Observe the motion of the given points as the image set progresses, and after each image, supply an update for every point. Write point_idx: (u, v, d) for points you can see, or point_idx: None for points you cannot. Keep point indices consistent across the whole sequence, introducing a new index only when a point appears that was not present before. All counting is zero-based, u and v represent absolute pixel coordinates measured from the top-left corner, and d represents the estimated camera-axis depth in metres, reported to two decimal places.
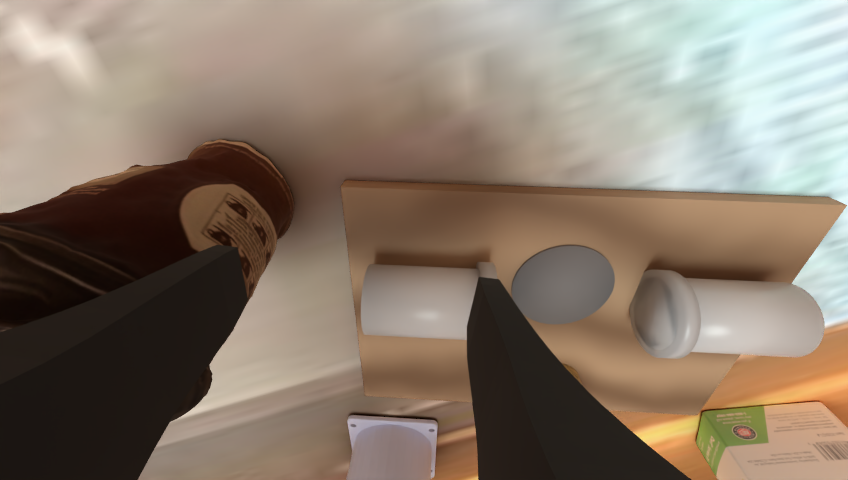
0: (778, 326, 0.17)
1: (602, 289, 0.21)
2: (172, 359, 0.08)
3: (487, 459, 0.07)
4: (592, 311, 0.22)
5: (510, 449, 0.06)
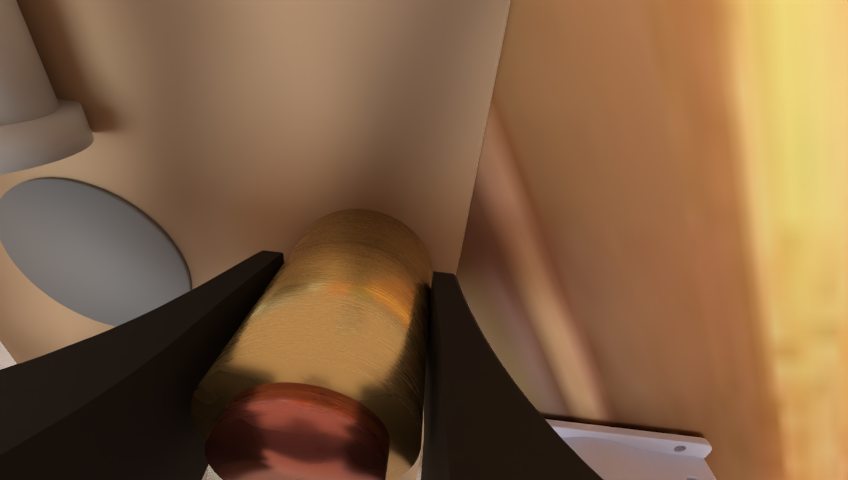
0: None
1: (65, 199, 0.10)
2: None
3: (426, 453, 0.07)
4: (127, 211, 0.11)
5: (435, 440, 0.06)
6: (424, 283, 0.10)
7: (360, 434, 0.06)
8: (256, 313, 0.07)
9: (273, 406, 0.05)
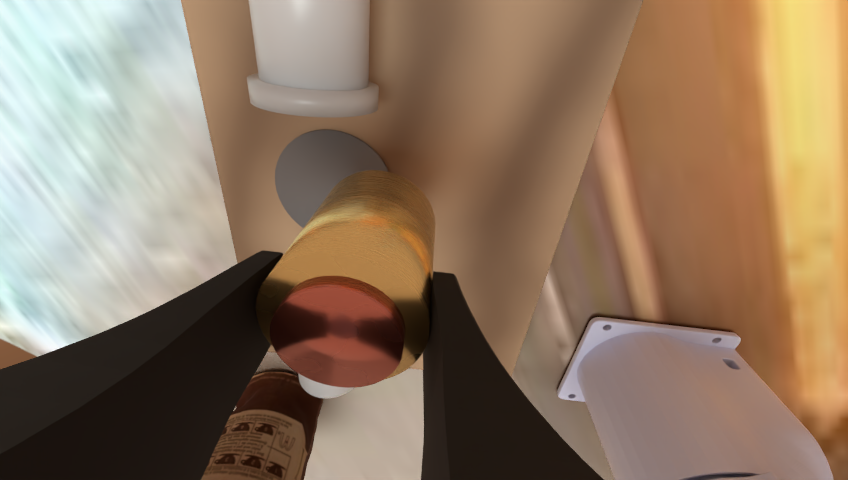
0: None
1: (331, 143, 0.16)
2: (228, 366, 0.08)
3: (426, 453, 0.07)
4: (369, 151, 0.16)
5: (435, 440, 0.06)
6: (429, 227, 0.12)
7: (385, 310, 0.08)
8: (302, 236, 0.09)
9: (323, 287, 0.08)
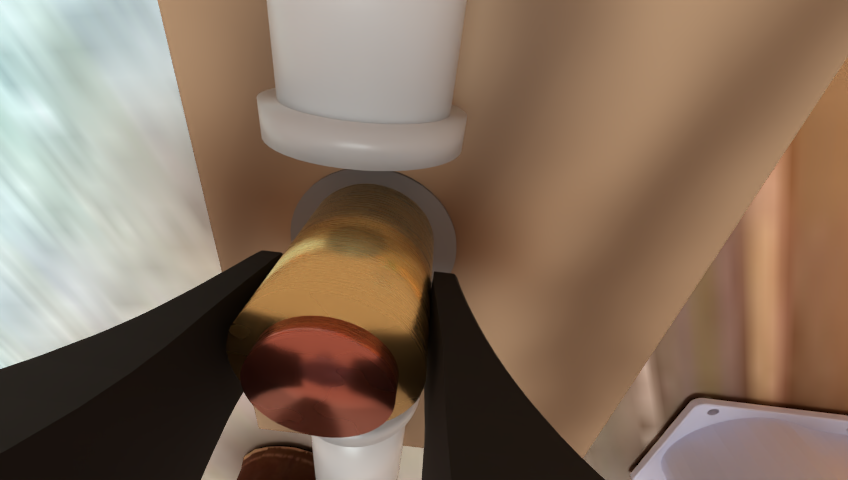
0: None
1: None
2: (228, 366, 0.08)
3: (427, 453, 0.07)
4: (429, 198, 0.11)
5: (436, 440, 0.06)
6: (427, 248, 0.10)
7: (373, 357, 0.07)
8: (280, 265, 0.08)
9: (299, 332, 0.06)
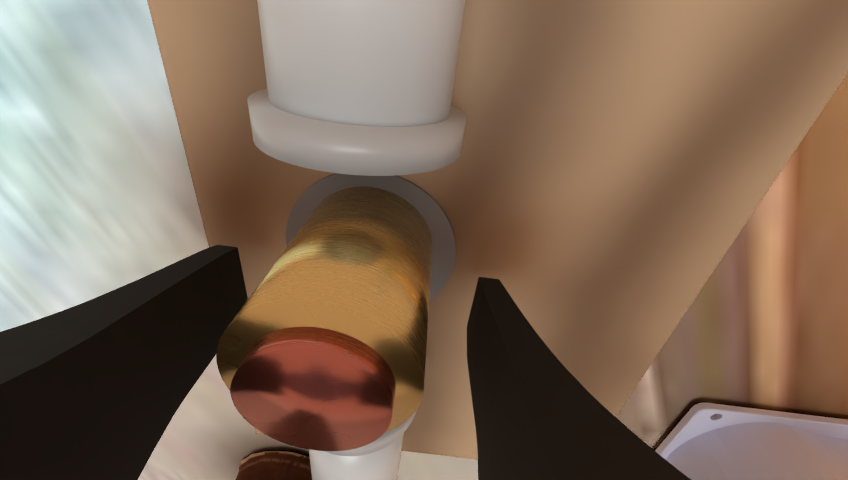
0: None
1: None
2: (172, 359, 0.08)
3: (487, 460, 0.07)
4: (427, 201, 0.11)
5: (510, 449, 0.06)
6: (425, 253, 0.10)
7: (368, 370, 0.06)
8: (272, 272, 0.08)
9: (291, 345, 0.06)
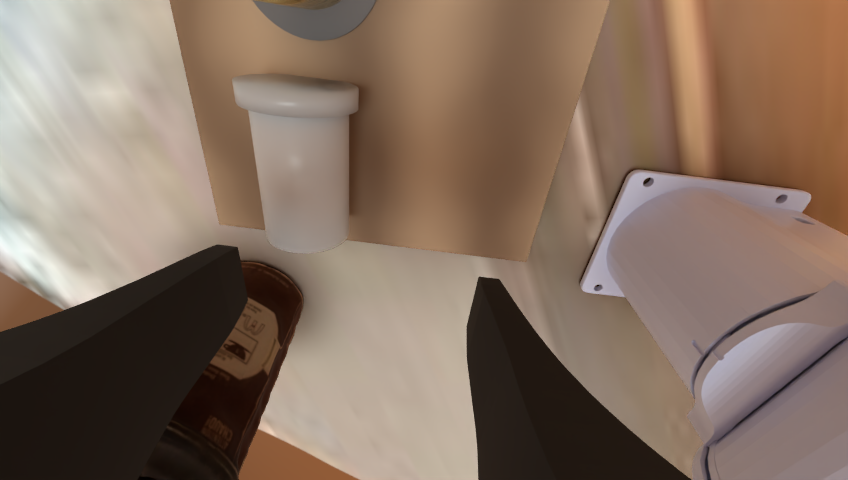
0: None
1: None
2: (172, 359, 0.08)
3: (487, 460, 0.07)
4: None
5: (510, 449, 0.06)
6: None
7: None
8: None
9: None
